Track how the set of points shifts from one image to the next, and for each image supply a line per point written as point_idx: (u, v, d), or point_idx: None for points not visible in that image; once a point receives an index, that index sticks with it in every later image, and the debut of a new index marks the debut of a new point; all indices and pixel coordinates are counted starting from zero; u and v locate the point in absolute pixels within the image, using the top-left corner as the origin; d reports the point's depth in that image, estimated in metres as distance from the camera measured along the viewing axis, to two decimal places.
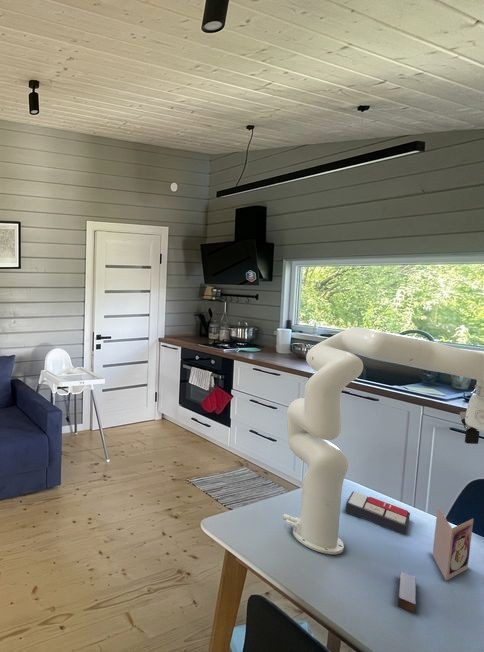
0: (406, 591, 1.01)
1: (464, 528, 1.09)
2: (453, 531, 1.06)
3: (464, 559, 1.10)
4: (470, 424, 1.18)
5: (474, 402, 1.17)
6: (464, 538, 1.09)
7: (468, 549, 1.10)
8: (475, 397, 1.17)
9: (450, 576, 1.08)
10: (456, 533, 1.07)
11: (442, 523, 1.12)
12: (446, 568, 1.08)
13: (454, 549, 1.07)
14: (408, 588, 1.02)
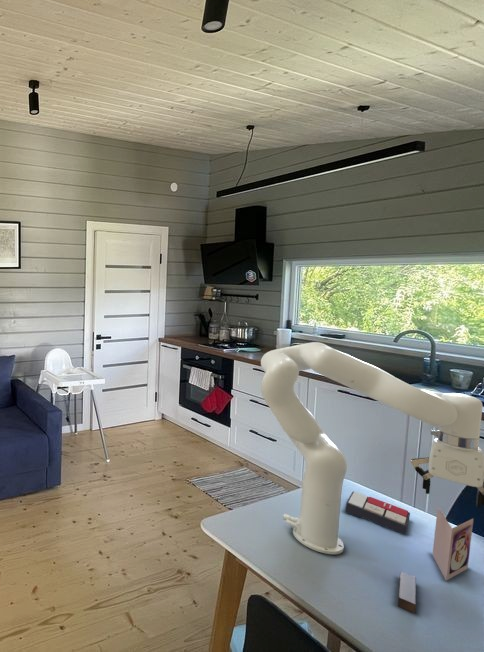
0: (406, 591, 1.01)
1: (464, 528, 1.09)
2: (453, 531, 1.06)
3: (464, 559, 1.10)
4: (439, 475, 1.10)
5: (443, 452, 1.09)
6: (464, 538, 1.09)
7: (468, 549, 1.10)
8: (443, 446, 1.09)
9: (450, 576, 1.08)
10: (456, 533, 1.07)
11: (442, 523, 1.12)
12: (446, 568, 1.08)
13: (454, 549, 1.07)
14: (408, 588, 1.02)
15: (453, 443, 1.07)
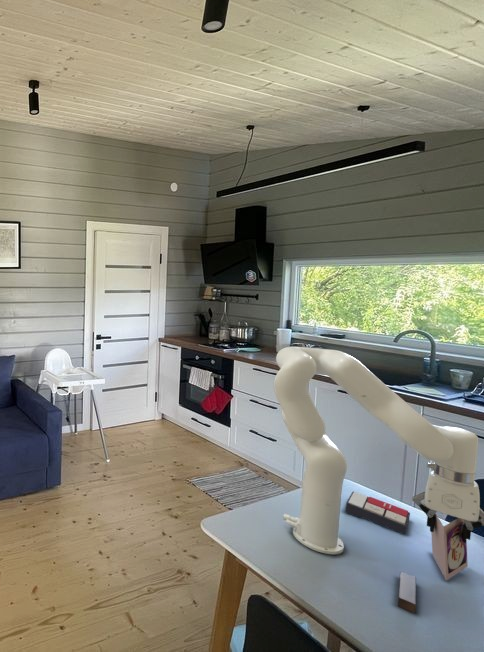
0: (406, 591, 1.01)
1: (457, 525, 1.09)
2: (445, 529, 1.07)
3: (462, 557, 1.10)
4: (435, 508, 1.11)
5: (439, 485, 1.10)
6: (458, 535, 1.10)
7: (464, 546, 1.11)
8: (439, 480, 1.10)
9: (449, 575, 1.08)
10: (449, 531, 1.08)
11: (435, 522, 1.13)
12: (444, 568, 1.08)
13: (449, 547, 1.08)
14: (408, 588, 1.02)
15: (449, 477, 1.08)
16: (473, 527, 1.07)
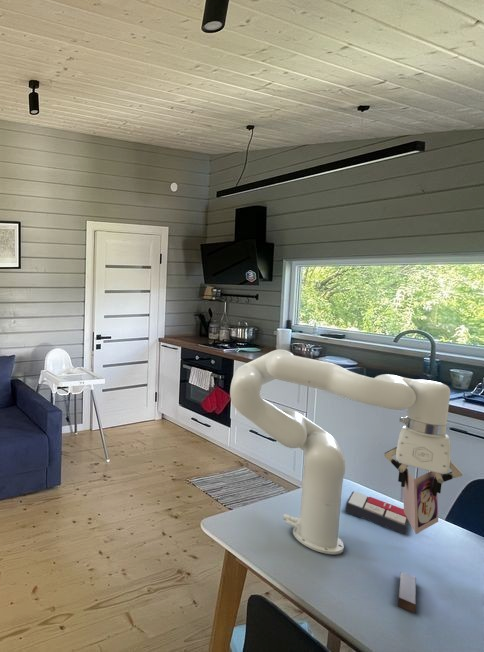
0: (406, 591, 1.01)
1: (428, 479, 1.08)
2: (415, 482, 1.06)
3: (433, 511, 1.08)
4: (406, 462, 1.09)
5: (410, 439, 1.08)
6: (429, 489, 1.08)
7: (435, 501, 1.09)
8: (411, 433, 1.08)
9: (419, 529, 1.06)
10: (419, 484, 1.06)
11: (407, 477, 1.11)
12: (414, 521, 1.06)
13: (419, 500, 1.06)
14: (408, 588, 1.02)
15: (420, 430, 1.06)
16: (444, 480, 1.05)
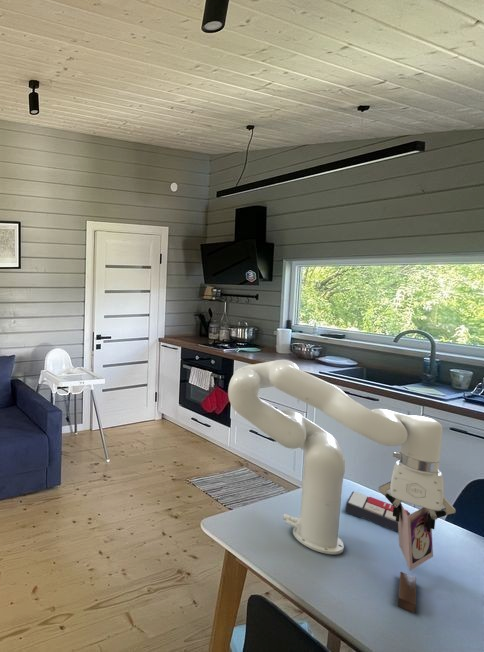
0: (406, 591, 1.01)
1: (421, 514, 1.09)
2: (409, 519, 1.06)
3: (427, 546, 1.09)
4: (400, 498, 1.10)
5: (404, 474, 1.09)
6: (423, 525, 1.09)
7: (429, 536, 1.10)
8: (404, 469, 1.09)
9: (414, 565, 1.07)
10: (413, 520, 1.07)
11: (401, 511, 1.12)
12: (408, 557, 1.07)
13: (413, 537, 1.07)
14: (408, 588, 1.02)
15: (413, 466, 1.07)
16: (437, 516, 1.06)
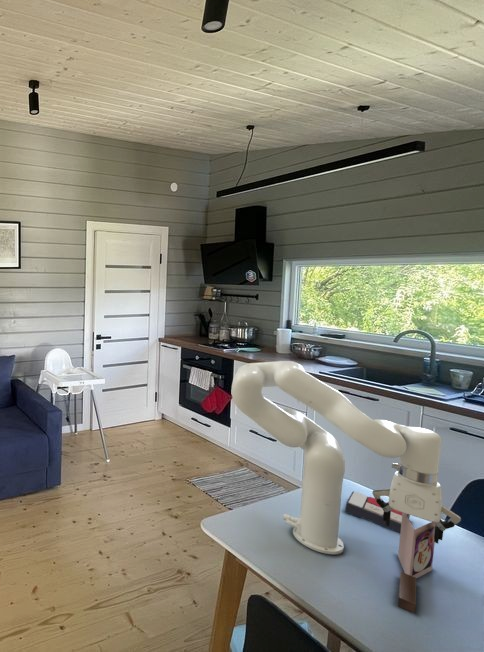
0: (406, 591, 1.01)
1: (427, 529, 1.08)
2: (415, 533, 1.06)
3: (428, 560, 1.09)
4: (398, 509, 1.10)
5: (402, 486, 1.09)
6: (427, 539, 1.08)
7: (431, 551, 1.10)
8: (403, 480, 1.09)
9: None
10: (419, 534, 1.07)
11: (406, 524, 1.11)
12: (409, 569, 1.07)
13: (416, 550, 1.07)
14: (408, 588, 1.02)
15: (412, 478, 1.07)
16: (445, 527, 1.05)
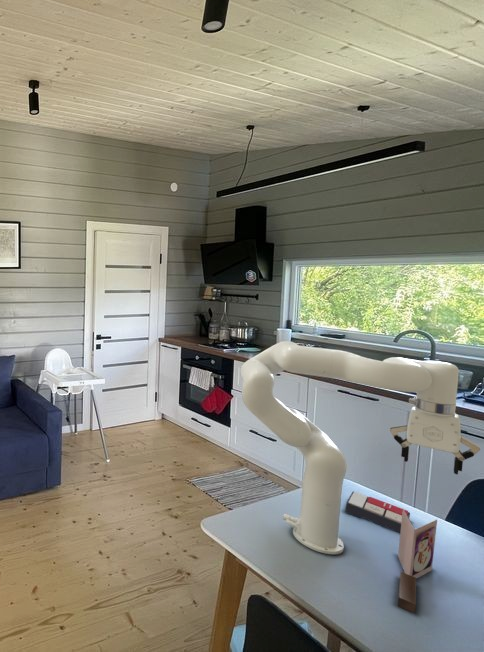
0: (406, 591, 1.01)
1: (427, 529, 1.08)
2: (415, 533, 1.06)
3: (428, 560, 1.09)
4: (417, 442, 1.10)
5: (420, 419, 1.10)
6: (427, 539, 1.08)
7: (431, 551, 1.10)
8: (420, 413, 1.10)
9: None
10: (419, 534, 1.07)
11: (406, 524, 1.11)
12: (409, 570, 1.07)
13: (417, 550, 1.07)
14: (408, 588, 1.02)
15: (430, 409, 1.07)
16: (465, 457, 1.05)
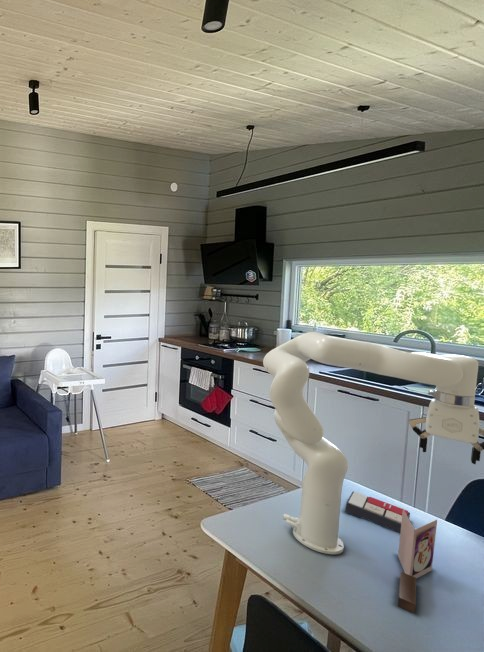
0: (406, 591, 1.01)
1: (427, 529, 1.08)
2: (415, 533, 1.06)
3: (428, 560, 1.09)
4: (436, 433, 1.14)
5: (440, 410, 1.13)
6: (427, 539, 1.08)
7: (431, 551, 1.10)
8: (440, 405, 1.13)
9: None
10: (419, 534, 1.07)
11: (406, 524, 1.11)
12: (409, 570, 1.07)
13: (417, 550, 1.07)
14: (408, 588, 1.02)
15: (450, 401, 1.11)
16: (483, 448, 1.09)
